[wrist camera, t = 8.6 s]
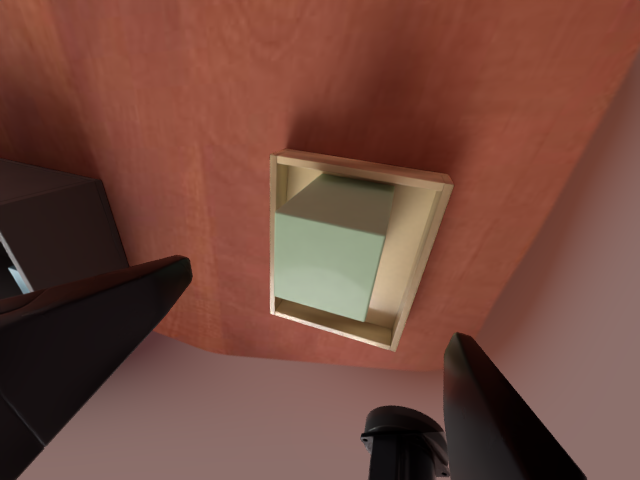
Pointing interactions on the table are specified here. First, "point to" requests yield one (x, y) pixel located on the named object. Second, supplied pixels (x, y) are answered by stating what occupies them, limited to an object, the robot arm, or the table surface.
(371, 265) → the sage block
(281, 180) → the wooden tray
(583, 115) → the table surface
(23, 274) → the dark grey open box
